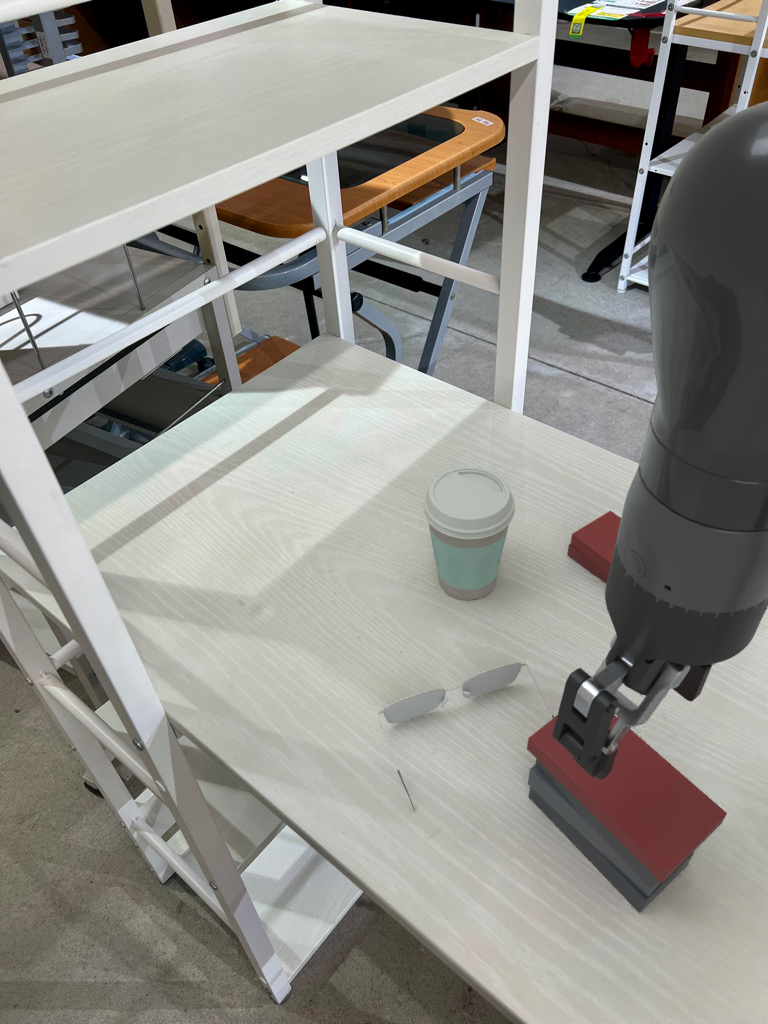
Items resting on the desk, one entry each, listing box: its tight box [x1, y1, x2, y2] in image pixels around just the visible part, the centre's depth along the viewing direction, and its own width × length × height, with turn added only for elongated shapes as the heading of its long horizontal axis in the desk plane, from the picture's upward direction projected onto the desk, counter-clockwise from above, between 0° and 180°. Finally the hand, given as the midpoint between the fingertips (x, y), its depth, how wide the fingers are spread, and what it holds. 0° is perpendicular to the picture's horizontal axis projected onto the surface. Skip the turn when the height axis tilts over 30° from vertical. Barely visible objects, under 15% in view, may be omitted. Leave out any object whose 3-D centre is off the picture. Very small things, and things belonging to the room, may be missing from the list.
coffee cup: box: [422, 465, 516, 601], centre depth 72 cm, size 8×8×12 cm
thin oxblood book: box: [526, 715, 728, 883], centre depth 52 cm, size 12×6×2 cm, turn 37°
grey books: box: [527, 758, 695, 914], centre depth 55 cm, size 12×6×7 cm, turn 37°
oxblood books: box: [567, 510, 621, 584], centre depth 75 cm, size 12×6×3 cm, turn 37°
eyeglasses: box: [376, 661, 555, 812], centre depth 62 cm, size 14×8×4 cm, turn 109°
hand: (638, 726), depth 47 cm, fingers open, 8 cm apart
